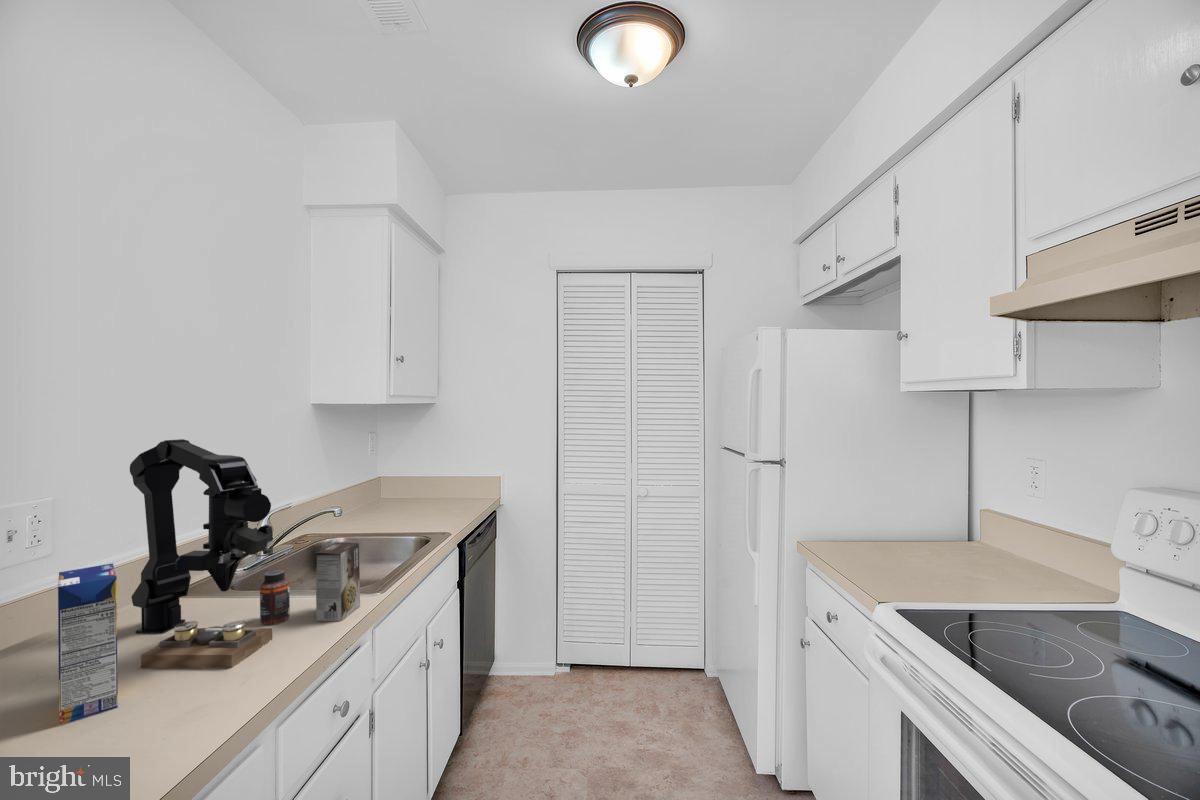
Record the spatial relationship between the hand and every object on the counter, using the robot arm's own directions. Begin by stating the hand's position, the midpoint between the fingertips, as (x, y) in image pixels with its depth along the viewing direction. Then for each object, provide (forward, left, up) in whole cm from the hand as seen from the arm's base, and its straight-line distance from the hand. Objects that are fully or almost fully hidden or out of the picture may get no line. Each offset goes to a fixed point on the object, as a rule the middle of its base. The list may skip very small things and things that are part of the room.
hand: (224, 590), depth 111 cm
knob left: (-5, -4, -11) cm, 13 cm away
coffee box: (+16, +16, -12) cm, 25 cm away
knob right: (+5, -4, -11) cm, 13 cm away
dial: (0, -4, -9) cm, 9 cm away
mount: (0, -4, -11) cm, 12 cm away
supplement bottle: (+3, +12, -12) cm, 17 cm away
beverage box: (-7, -22, -12) cm, 26 cm away
